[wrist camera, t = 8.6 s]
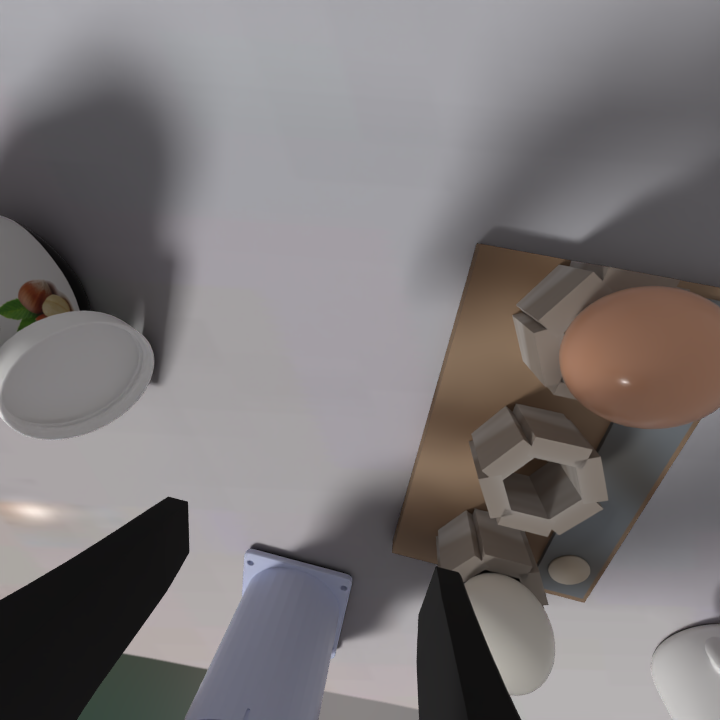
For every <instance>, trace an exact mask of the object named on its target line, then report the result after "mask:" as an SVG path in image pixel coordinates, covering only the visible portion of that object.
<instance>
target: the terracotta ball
mask: <svg viewBox="0 0 720 720" xmlns="http://www.w3.org/2000/svg"><path fill="white" fill-rule="evenodd" d="M559 364H560V371H561V374H562V377H563V379H564V382H565V384H566V386H567V388H568V389H569V391H570V392H571V394H572V395H573V396H574V397H575V398H576V399H577V400H578V401H579V403H581V404H582V405H583V406H584V407H586V408H587V409H588V410H589V411H591V412H592V413H594V414H596V415H598V416H599V417H601V418H603V419H605V420H608V421H610V422H613V423H616V424H619V425H623V426H627V427H633V428H640V429H664V428H672V427H678V426H682V425H685V424H689V423H692V422H694V421H697V420H699V419H702V418H704V417H706V416H708V415H709V414H711V413H713V412H714V411H716V410H717V409H719V408H720V307H719V306H718V305H716V304H715V303H713V302H711V301H710V300H708V299H706V298H704V297H702V296H700V295H698V294H695V293H693V292H689V291H686V290H682V289H678V288H672V287H663V286H642V287H634V288H628V289H624V290H620V291H617V292H614V293H611V294H609V295H606V296H604V297H602V298H600V299H598V300H597V301H595V302H593V303H592V304H590V305H589V306H588V307H586V308H585V309H584V310H582V311H581V312H580V313H579V314H578V315H577V316H576V317H575V318H574V320H573V321H572V322H571V324H570V325H569V327H568V328H567V330H566V332H565V334H564V336H563V339H562V342H561V345H560V350H559Z"/></svg>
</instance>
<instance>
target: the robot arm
mask: <svg viewBox="0 0 720 720" xmlns="http://www.w3.org/2000/svg"><path fill="white" fill-rule="evenodd" d="M188 554H189V522H188V502H187V501H183V500H179V499H175V498H171V497H167V498H165V499H164V500H162V501H161V502H159V503H158V504H156V505H154V506H153V507H151V508H150V509H148V510H147V511H145V512H144V513H142V514H141V515H139V516H138V517H136V518H135V519H133V520H131V521H130V522H128V523H127V524H125V525H124V526H122V527H121V528H119V529H118V530H116V531H115V532H113V533H111V534H110V535H108V536H107V537H105V538H104V539H102V540H100V541H99V542H97V543H96V544H94V545H92V546H91V547H89V548H88V549H86V550H85V551H83V552H81V553H80V554H78V555H77V556H75V557H73V558H72V559H70V560H68V561H67V562H65V563H63V564H62V565H60V566H58V567H57V568H55V569H53V570H52V571H50V572H48V573H46V574H45V575H43V576H41V577H40V578H38V579H36V580H35V581H33V582H31V583H30V584H28V585H26V586H24V587H23V588H21V589H19V590H17V591H16V592H14V593H12V594H10V595H8V596H7V597H5V598H3V599H1V600H0V720H77V719H78V717H79V715H80V714H81V712H82V711H83V709H84V707H85V706H86V705H87V703H88V702H89V700H90V699H91V697H92V696H93V694H94V693H95V691H96V689H97V688H98V687H99V685H100V684H101V683H102V681H103V680H104V678H105V677H106V676H107V674H108V673H109V672H110V670H111V669H112V667H113V666H114V664H115V663H116V662H117V660H118V659H119V658H120V656H121V655H122V653H123V652H124V651H125V649H126V648H127V646H128V645H129V644H130V642H131V641H132V639H133V638H134V637H135V635H136V634H137V633H138V631H139V630H140V628H141V627H142V626H143V624H144V623H145V621H146V620H147V619H148V617H149V616H150V614H151V613H152V611H153V610H154V609H155V607H156V606H157V604H158V603H159V602H160V600H161V599H162V597H163V596H164V594H165V593H166V592H167V590H168V588H169V587H170V585H171V583H172V582H173V580H174V578H175V577H176V575H177V573H178V571H179V570H180V568H181V566H182V564H183V562H184V561H185V559H186V557H187V555H188ZM351 586H352V577H351V576H350V575H348V574H345V573H341V572H338V571H334V570H330V569H326V568H323V567H319V566H315V565H311V564H308V563H304V562H300V561H296V560H293V559H289V558H285V557H281V556H278V555H274V554H270V553H266V552H263V551H259V550H255V549H248V550H247V551H246V553H245V556H244V572H243V589H242V599H241V601H240V603H239V605H238V607H237V609H236V611H235V614H234V616H233V618H232V620H231V622H230V624H229V626H228V628H227V630H226V633H225V635H224V637H223V639H222V641H221V643H220V645H219V647H218V649H217V652H216V654H215V656H214V658H213V660H212V662H211V664H210V666H209V668H208V671H207V673H206V675H205V677H204V679H203V681H202V683H201V685H200V688H199V689H198V692H197V694H196V696H195V698H194V700H193V702H192V704H191V706H190V708H189V711H188V713H187V715H186V717H185V719H184V720H318V719H319V714H320V709H321V704H322V698H323V694H324V689H325V684H326V679H327V674H328V668H329V663H330V659H331V658H334V657H335V653H336V649H337V645H338V641H339V637H340V632H341V628H342V624H343V620H344V615H345V611H346V607H347V603H348V599H349V594H350V590H351ZM417 683H418V705H419V720H521V718H520V716H519V714H518V712H517V710H516V708H515V706H514V704H513V701H512V699H511V697H510V695H509V693H508V691H507V688H506V686H505V684H504V682H503V679H502V677H501V675H500V672H499V670H498V668H497V666H496V663H495V661H494V659H493V656H492V654H491V652H490V649H489V647H488V645H487V642H486V640H485V637H484V635H483V632H482V630H481V627H480V625H479V622H478V620H477V617H476V615H475V612H474V609H473V607H472V604H471V602H470V599H469V596H468V593H467V591H466V588H465V585H464V582H463V579H462V577H461V575H460V573H459V572H456V571H452V570H448V569H444V568H441V567H437V566H436V568H435V571H434V574H433V576H432V579H431V582H430V585H429V587H428V590H427V593H426V596H425V598H424V601H423V604H422V607H421V609H420V612H419V617H418V638H417Z"/></svg>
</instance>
